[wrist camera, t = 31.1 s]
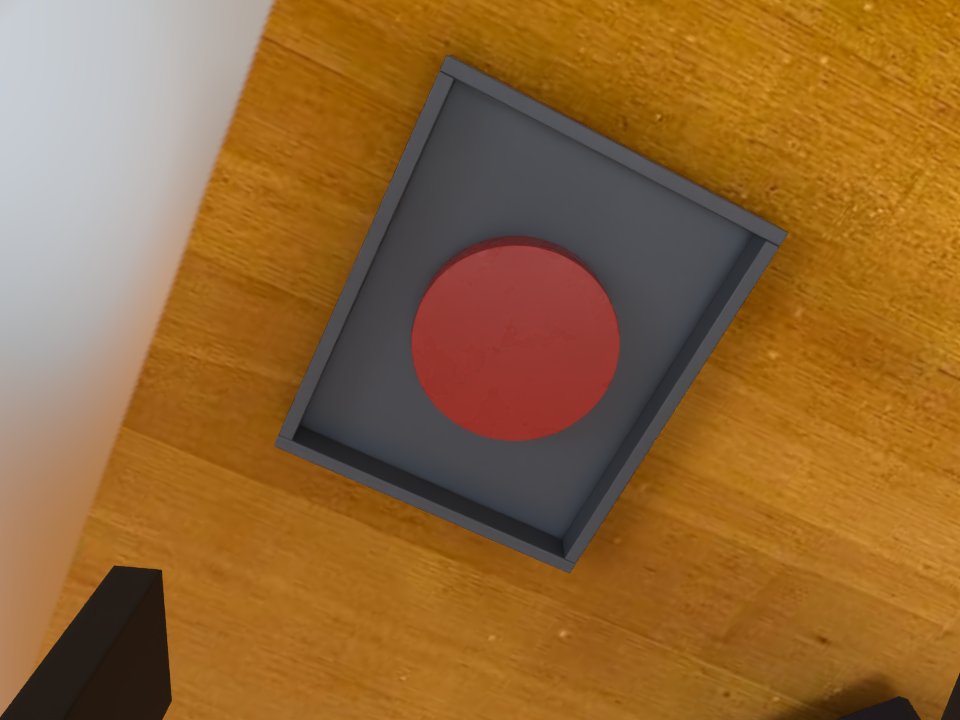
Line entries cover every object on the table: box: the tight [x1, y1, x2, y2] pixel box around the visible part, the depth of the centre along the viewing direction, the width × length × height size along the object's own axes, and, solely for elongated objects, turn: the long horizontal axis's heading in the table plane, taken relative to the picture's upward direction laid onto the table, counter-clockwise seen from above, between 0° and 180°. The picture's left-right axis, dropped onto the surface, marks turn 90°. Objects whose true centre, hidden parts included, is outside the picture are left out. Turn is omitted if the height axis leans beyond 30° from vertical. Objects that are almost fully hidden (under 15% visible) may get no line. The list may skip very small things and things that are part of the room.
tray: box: [274, 55, 788, 573], centre depth 32 cm, size 17×14×2 cm
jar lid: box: [411, 236, 620, 441], centre depth 32 cm, size 8×8×2 cm
